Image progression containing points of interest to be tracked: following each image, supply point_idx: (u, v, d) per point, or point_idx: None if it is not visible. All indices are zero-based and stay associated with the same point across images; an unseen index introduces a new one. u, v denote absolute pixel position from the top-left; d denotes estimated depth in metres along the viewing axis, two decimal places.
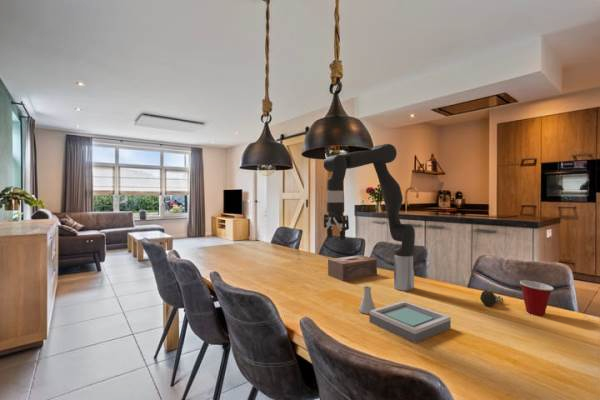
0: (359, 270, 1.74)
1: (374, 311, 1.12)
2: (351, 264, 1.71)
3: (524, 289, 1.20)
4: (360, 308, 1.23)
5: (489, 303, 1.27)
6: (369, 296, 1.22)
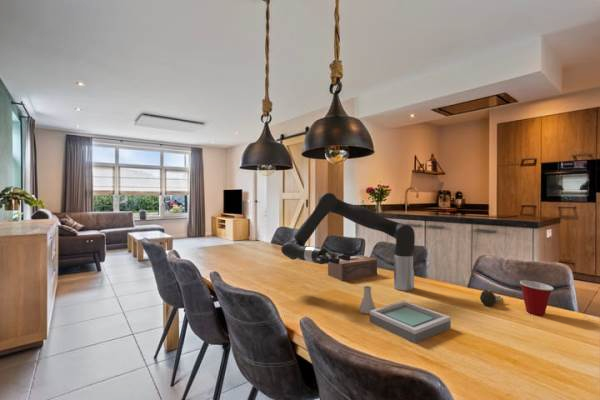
0: (359, 270, 1.74)
1: (374, 311, 1.12)
2: (350, 264, 1.71)
3: (524, 289, 1.20)
4: (360, 308, 1.23)
5: (489, 303, 1.27)
6: (369, 296, 1.22)
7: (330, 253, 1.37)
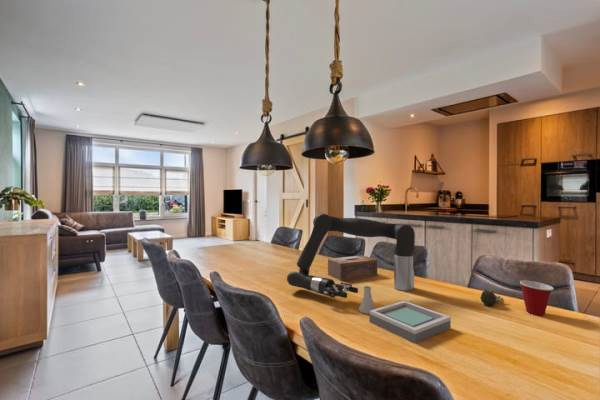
0: (358, 270, 1.74)
1: (374, 311, 1.12)
2: (349, 264, 1.71)
3: (524, 289, 1.20)
4: (360, 308, 1.23)
5: (489, 303, 1.27)
6: (369, 296, 1.22)
7: (337, 285, 1.35)
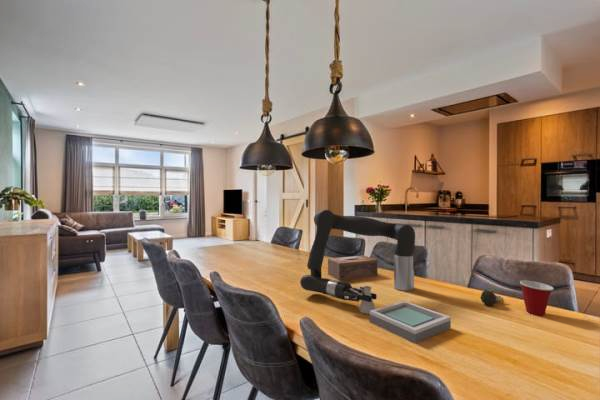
0: (358, 270, 1.74)
1: (374, 311, 1.12)
2: (348, 264, 1.71)
3: (524, 289, 1.20)
4: (360, 308, 1.23)
5: (489, 303, 1.27)
6: None
7: (354, 288, 1.28)
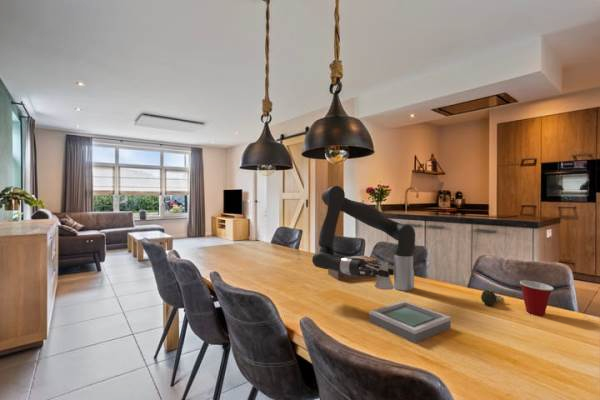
0: None
1: (374, 311, 1.12)
2: None
3: (524, 289, 1.20)
4: (376, 284, 1.17)
5: (490, 303, 1.28)
6: None
7: (370, 265, 1.22)
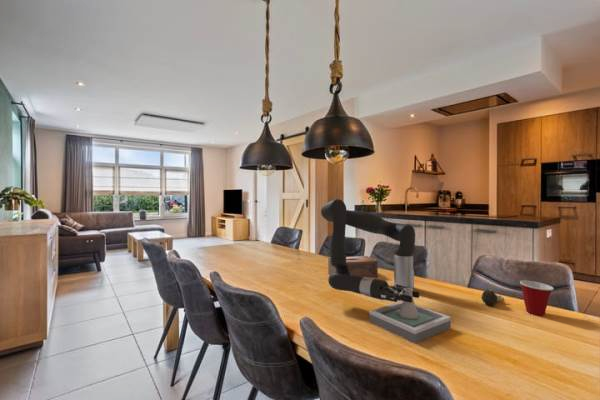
0: (356, 270, 1.73)
1: (374, 311, 1.12)
2: None
3: (524, 289, 1.20)
4: (400, 312, 1.09)
5: (490, 303, 1.28)
6: None
7: (393, 287, 1.15)
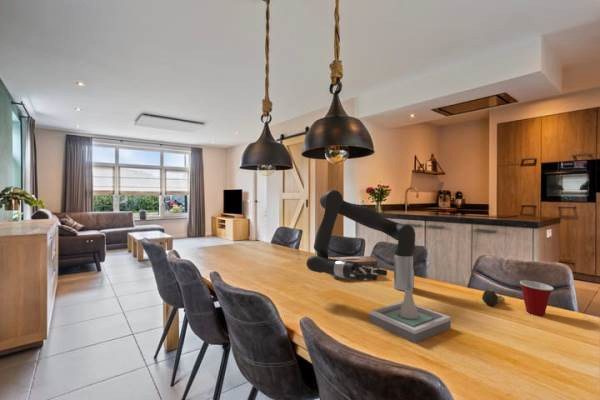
0: None
1: (374, 311, 1.12)
2: None
3: (524, 289, 1.20)
4: (400, 312, 1.09)
5: (491, 303, 1.28)
6: (411, 299, 1.09)
7: (364, 267, 1.24)
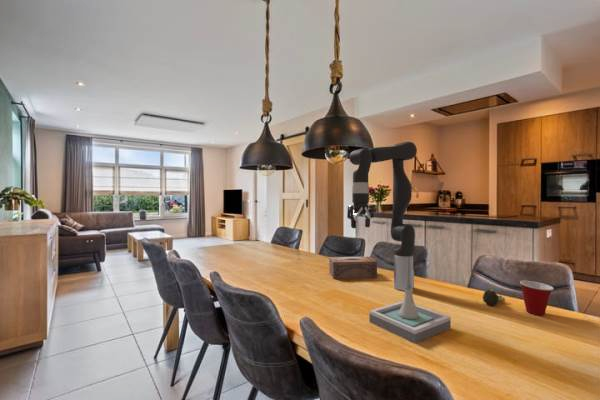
0: (354, 270, 1.73)
1: (374, 311, 1.12)
2: (344, 263, 1.73)
3: (524, 289, 1.20)
4: (400, 312, 1.09)
5: (492, 303, 1.28)
6: (411, 299, 1.09)
7: (364, 209, 1.37)
